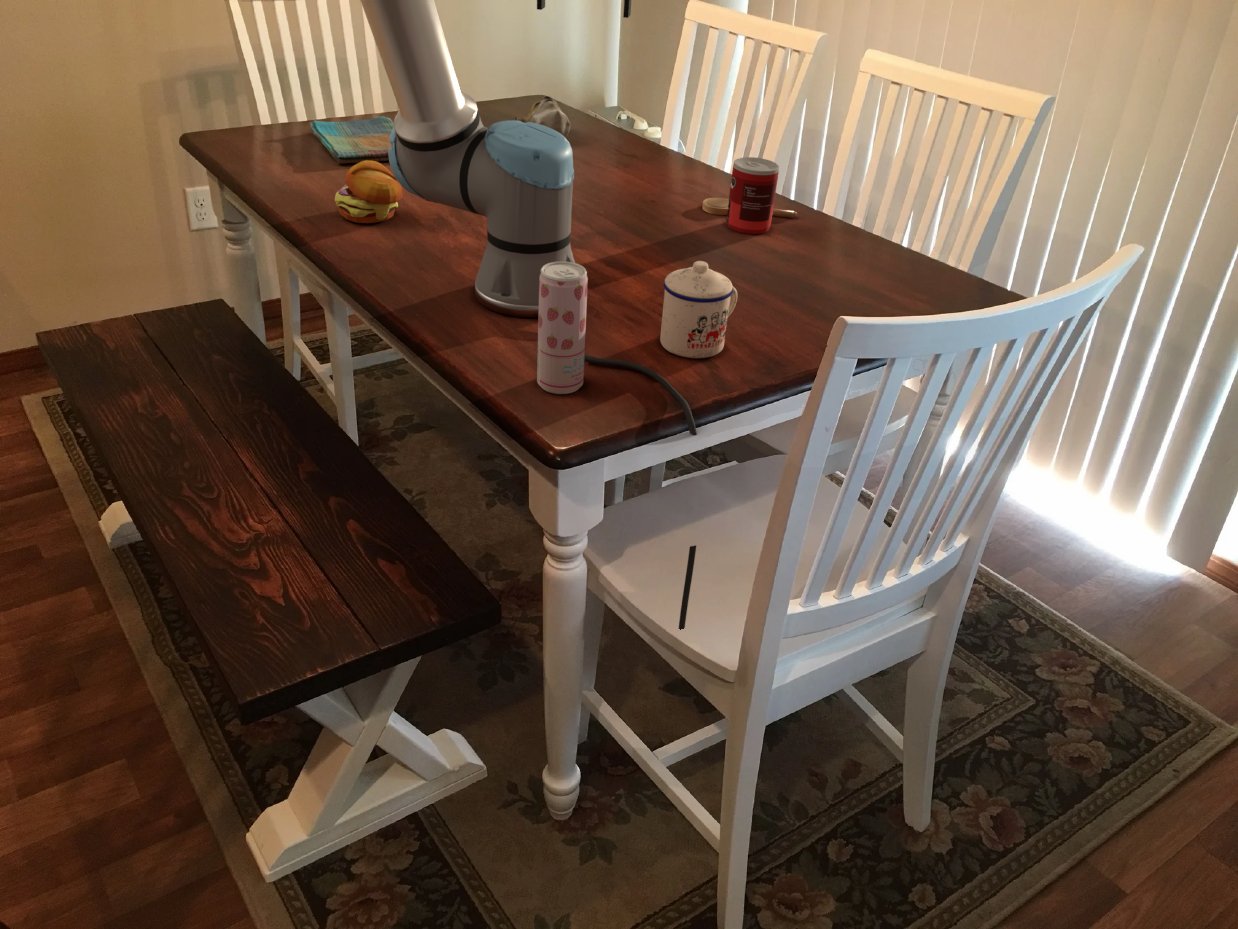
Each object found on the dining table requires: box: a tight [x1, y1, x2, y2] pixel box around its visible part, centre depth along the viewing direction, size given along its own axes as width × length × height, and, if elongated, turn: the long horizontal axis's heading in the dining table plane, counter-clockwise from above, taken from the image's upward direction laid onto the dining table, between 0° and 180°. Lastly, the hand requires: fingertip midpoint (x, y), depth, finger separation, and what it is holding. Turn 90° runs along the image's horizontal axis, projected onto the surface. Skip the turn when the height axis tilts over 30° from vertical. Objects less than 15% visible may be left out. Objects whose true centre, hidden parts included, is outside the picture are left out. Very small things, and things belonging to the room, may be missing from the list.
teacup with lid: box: [659, 260, 739, 359], centre depth 131 cm, size 12×9×12 cm
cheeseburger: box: [334, 160, 403, 224], centre depth 164 cm, size 10×11×10 cm
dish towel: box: [309, 116, 394, 165], centre depth 198 cm, size 17×23×2 cm
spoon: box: [701, 197, 798, 219], centre depth 179 cm, size 17×6×1 cm, turn 82°
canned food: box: [726, 156, 780, 235], centre depth 170 cm, size 8×8×11 cm
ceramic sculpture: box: [514, 95, 572, 139], centre depth 210 cm, size 11×9×15 cm
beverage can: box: [536, 261, 589, 395], centre depth 118 cm, size 6×6×15 cm
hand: (583, 12), depth 155 cm, fingers open, 13 cm apart
